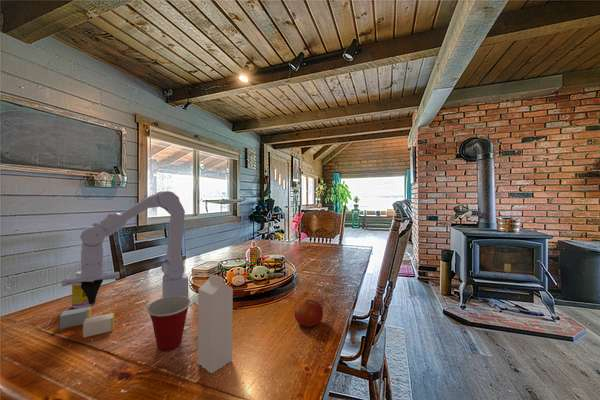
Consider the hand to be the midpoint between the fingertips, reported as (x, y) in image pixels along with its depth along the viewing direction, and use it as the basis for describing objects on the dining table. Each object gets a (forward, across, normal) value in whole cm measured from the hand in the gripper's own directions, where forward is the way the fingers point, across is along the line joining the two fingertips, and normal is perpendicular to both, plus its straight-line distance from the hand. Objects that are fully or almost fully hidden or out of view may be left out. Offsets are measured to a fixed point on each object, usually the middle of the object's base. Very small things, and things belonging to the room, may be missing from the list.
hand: (92, 303), depth 81 cm
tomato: (+6, +60, -41) cm, 73 cm away
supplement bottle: (+6, -4, +16) cm, 18 cm away
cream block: (+4, +6, -10) cm, 12 cm away
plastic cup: (+6, +20, -30) cm, 37 cm away
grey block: (+4, 0, 0) cm, 4 cm away
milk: (+6, +30, -44) cm, 53 cm away
